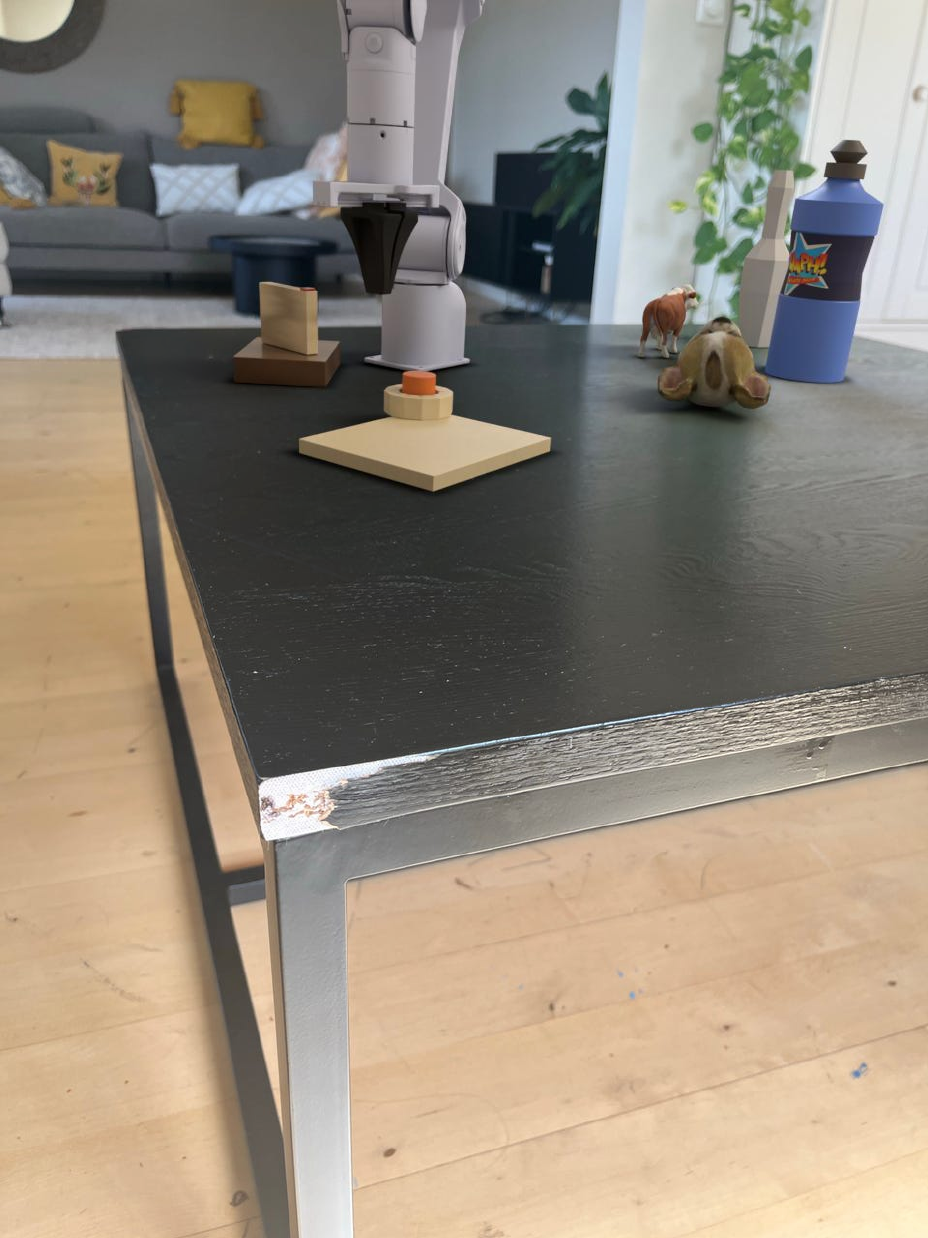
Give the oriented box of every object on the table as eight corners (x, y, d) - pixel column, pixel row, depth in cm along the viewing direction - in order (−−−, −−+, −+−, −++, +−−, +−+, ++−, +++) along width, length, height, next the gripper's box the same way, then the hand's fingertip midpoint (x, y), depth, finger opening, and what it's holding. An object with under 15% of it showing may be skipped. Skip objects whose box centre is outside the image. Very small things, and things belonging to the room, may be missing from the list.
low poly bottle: (782, 349, 130) (816, 171, 120) (736, 347, 130) (766, 168, 120) (769, 341, 136) (801, 171, 126) (725, 339, 136) (753, 168, 126)
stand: (257, 360, 104) (256, 336, 103) (340, 364, 104) (340, 341, 103) (233, 382, 93) (232, 356, 92) (325, 387, 94) (325, 361, 93)
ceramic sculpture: (776, 307, 97) (784, 338, 84) (761, 392, 101) (766, 433, 89) (670, 300, 99) (662, 328, 86) (660, 383, 103) (650, 422, 91)
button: (416, 389, 82) (417, 369, 82) (441, 395, 81) (442, 374, 80) (395, 394, 80) (395, 373, 80) (420, 400, 79) (421, 378, 78)
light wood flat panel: (261, 342, 100) (259, 279, 97) (272, 341, 101) (270, 279, 98) (307, 354, 95) (305, 289, 92) (318, 353, 96) (317, 288, 93)
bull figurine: (697, 349, 126) (707, 284, 123) (659, 362, 116) (668, 292, 112) (666, 345, 128) (675, 281, 125) (626, 357, 118) (634, 288, 114)
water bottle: (809, 385, 108) (860, 137, 97) (746, 369, 115) (788, 137, 104) (861, 379, 112) (915, 143, 102) (798, 365, 119) (842, 142, 109)
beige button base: (413, 414, 85) (414, 380, 84) (559, 449, 77) (562, 412, 76) (277, 447, 73) (276, 409, 72) (432, 492, 65) (434, 449, 64)
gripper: (357, 121, 74) (356, 303, 80) (468, 132, 85) (460, 293, 91) (293, 119, 78) (297, 294, 84) (407, 130, 88) (404, 284, 94)
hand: (378, 293), depth 87 cm, fingers closed
